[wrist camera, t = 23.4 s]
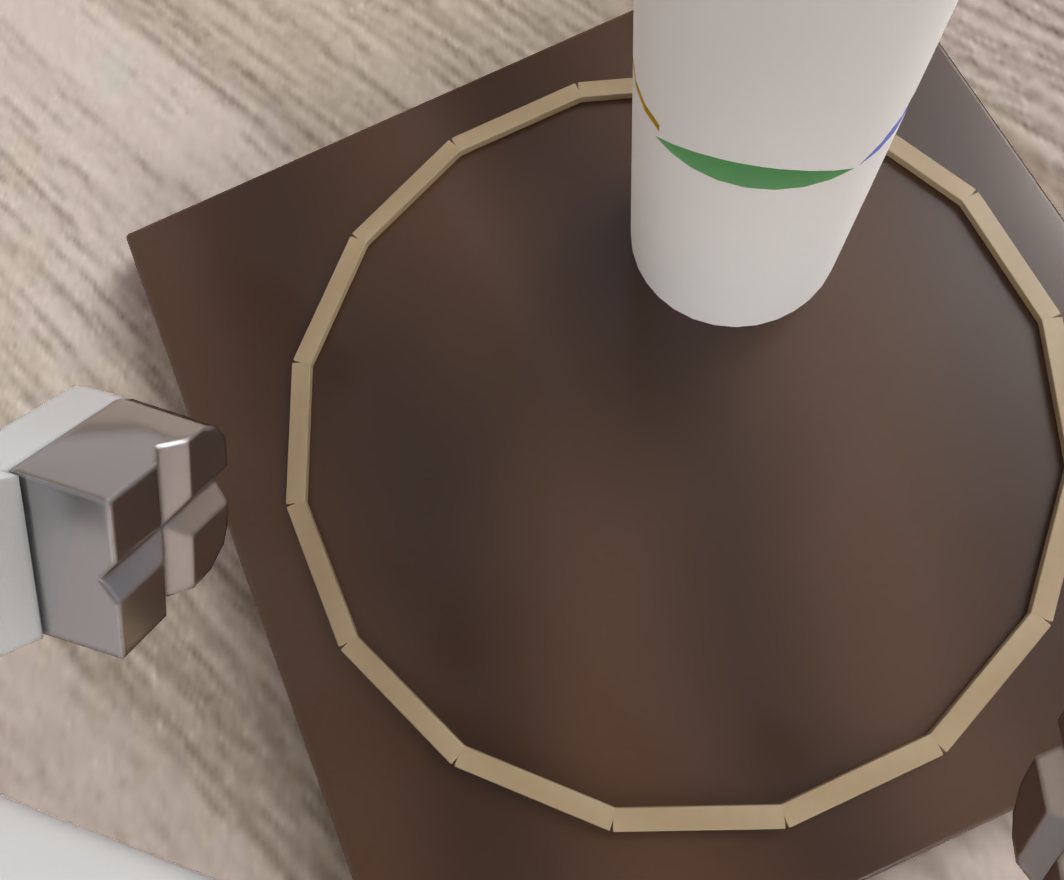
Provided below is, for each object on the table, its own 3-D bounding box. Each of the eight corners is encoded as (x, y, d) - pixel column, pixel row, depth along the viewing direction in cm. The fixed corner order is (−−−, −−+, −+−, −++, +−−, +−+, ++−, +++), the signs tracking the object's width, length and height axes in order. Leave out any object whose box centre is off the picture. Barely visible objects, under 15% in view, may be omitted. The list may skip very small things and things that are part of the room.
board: (436, 1070, 17) (423, 1095, 16) (144, 254, 22) (119, 229, 21) (1324, 647, 18) (1372, 642, 17) (840, -55, 23) (851, -96, 22)
